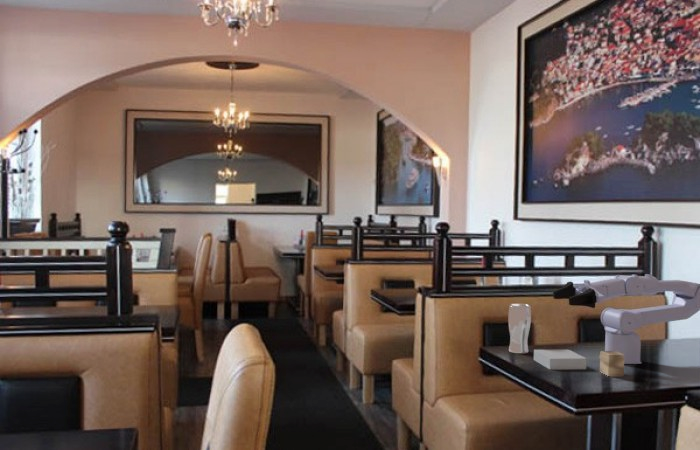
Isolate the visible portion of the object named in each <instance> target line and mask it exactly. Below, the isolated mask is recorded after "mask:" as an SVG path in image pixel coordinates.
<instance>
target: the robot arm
mask: <svg viewBox="0 0 700 450" xmlns="http://www.w3.org/2000/svg"><path fill="white" fill-rule="evenodd" d="M658 292H672V293H673V298H672V301H671V304H666V305H665V304H664V305H658V306H650V307H643V308H636V309H626V308H624V309H622V308H620V309H616V308H614V307H606V308H605V309H603V310H602V312H601V314H600V322H601V324H602V326H603V327H604V330H605V336H604V337H605V339H604V351H616V352H619V353H621V354H623V355H624V365H628V364H629V365H632V364H633V365H637V364H638V365H639V364H642V361H641V350H642V349H641V347H642V342H641V337H640V335H639V334H638V333H637V332H635V331H636V330H638V329H642V328H643V326H646V325H648V326H649V325H655V324H662V323H670V322H675V321H676V322H677V321H682V320H688V319H689V318H691V317H692V316H694V315H696V314H697V313H698V312H699V311H700V283H696V282H694V281H693V282H692V281H686V280H680V279H670V280H669V279H668V280H666V279H665V280H659V279H658V278H657V277H655V276H653V275H652V274H648V273H647V274H644V276H643V275H642V276H641V275H638V274H631V276H629V275H622V274H617V275H615V276H614V278H609V279H603V280H598V281H593V282H591V281H590V280H589V279H585V280H583V283H579V284H574V282H572V281H567V282H566V283H565V284H564V285H563V286H562V287H560V288H558V289H556V290H554V291H553V292H552V294H553V299H555V300H562V299H563V300H568V305H569V306H572V307H573V306H576V307H577V306H578V307H579V306H580V307H588V308H592V309H595V308H596V303H597V304H603V303H605V301H606V300H610V299H614V298H615V299H616V298H618V297H623V296H630V297H638V296H642V295H643V296H655V295H657V294H658ZM598 358H599V359H600V355H599V356H598Z"/></svg>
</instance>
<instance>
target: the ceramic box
mask: <svg viewBox="0 0 700 450" xmlns="http://www.w3.org/2000/svg"><path fill="white" fill-rule="evenodd" d="M533 361H535V362H536V363H539V364H540V365H542V366H543V367H544V368H547V369H548V370H587V362H588V360H587V357H584V356H583V355H580V354H578V353H576V352H574V351H572V350H570V349H533Z"/></svg>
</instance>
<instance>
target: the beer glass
mask: <svg viewBox="0 0 700 450" xmlns="http://www.w3.org/2000/svg"><path fill="white" fill-rule="evenodd" d="M531 311H532V310H531V304H528V303H520V302H518V303H516V302H514V303H513V302H512V303H509V306H508V314H507V316H508V317H507V319H508V320H507V321H508V331H509V336H510V337H509V339H510V340H509V346H508V351H509V353H514V354H520V355H521V354H522V355H523V354H524V355H525V354H529V346H528V338H529V334H530V333H529V332H530V328H531V323H532V312H531Z"/></svg>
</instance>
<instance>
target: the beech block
mask: <svg viewBox="0 0 700 450" xmlns="http://www.w3.org/2000/svg"><path fill="white" fill-rule="evenodd" d="M599 356H600V358H599V373H600V372H601V374H602V373H603V374H602V375H604V374H605V375H604V376H606V375H607V376H606V377H608V376H610V377H611V378H612V377H615V378H616V377H624V376H625V375H624V373H625V364H624V355H623V354H621V353H619V352H616V351H605V350H601V351H600V353H599Z"/></svg>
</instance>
